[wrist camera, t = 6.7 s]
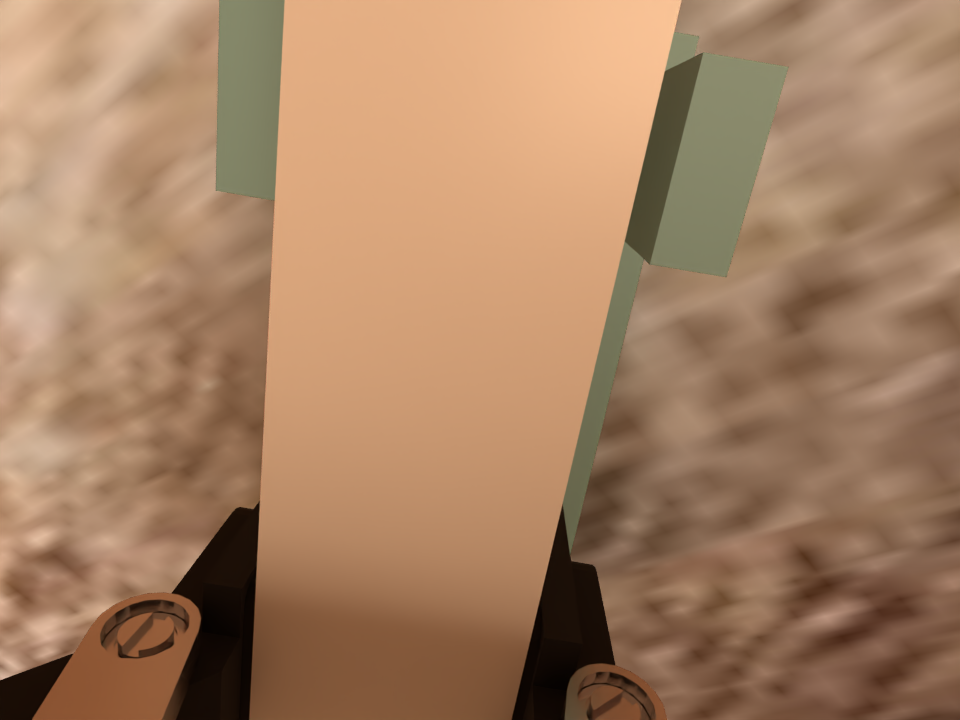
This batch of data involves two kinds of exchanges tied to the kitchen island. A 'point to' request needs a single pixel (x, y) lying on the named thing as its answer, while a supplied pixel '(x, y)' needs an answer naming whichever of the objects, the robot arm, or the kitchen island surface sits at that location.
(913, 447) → the kitchen island surface
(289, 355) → the tan wooden bar
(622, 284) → the rack
